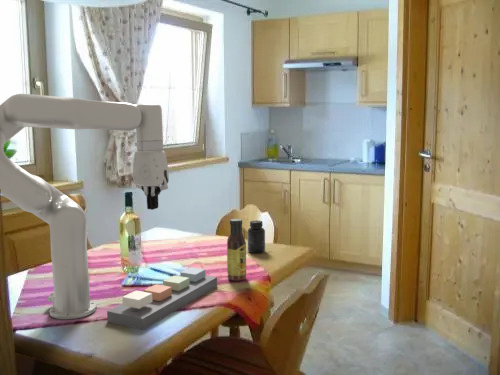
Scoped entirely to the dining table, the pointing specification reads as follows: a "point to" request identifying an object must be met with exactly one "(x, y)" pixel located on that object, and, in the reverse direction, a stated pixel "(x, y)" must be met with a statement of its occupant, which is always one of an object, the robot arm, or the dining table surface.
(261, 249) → the supplement bottle
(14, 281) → the dining table surface
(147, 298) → the cream key
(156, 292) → the terracotta key
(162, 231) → the dining table surface
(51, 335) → the dining table surface
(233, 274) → the sauce bottle
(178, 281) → the sage key
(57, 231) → the robot arm
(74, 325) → the dining table surface
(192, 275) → the slate key
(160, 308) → the keypad base
